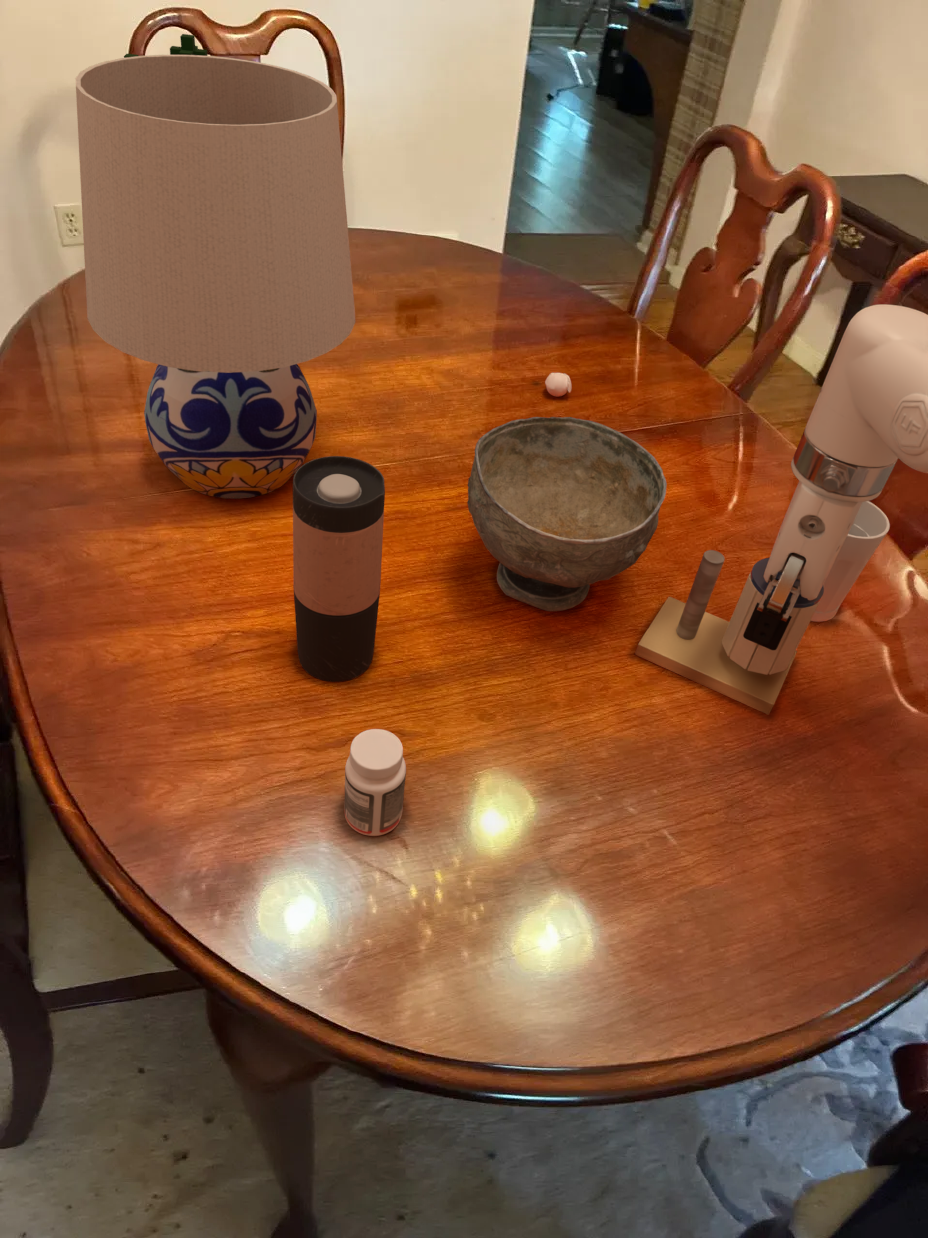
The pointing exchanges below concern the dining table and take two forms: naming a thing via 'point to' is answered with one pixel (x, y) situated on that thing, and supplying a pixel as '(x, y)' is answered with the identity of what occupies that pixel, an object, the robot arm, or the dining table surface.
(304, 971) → the dining table surface
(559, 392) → the garlic
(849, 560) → the cup
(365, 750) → the pill bottle
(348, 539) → the travel mug
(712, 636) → the double peg stand
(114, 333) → the table lamp
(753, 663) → the blue topped tan cylinder
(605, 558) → the bowl
